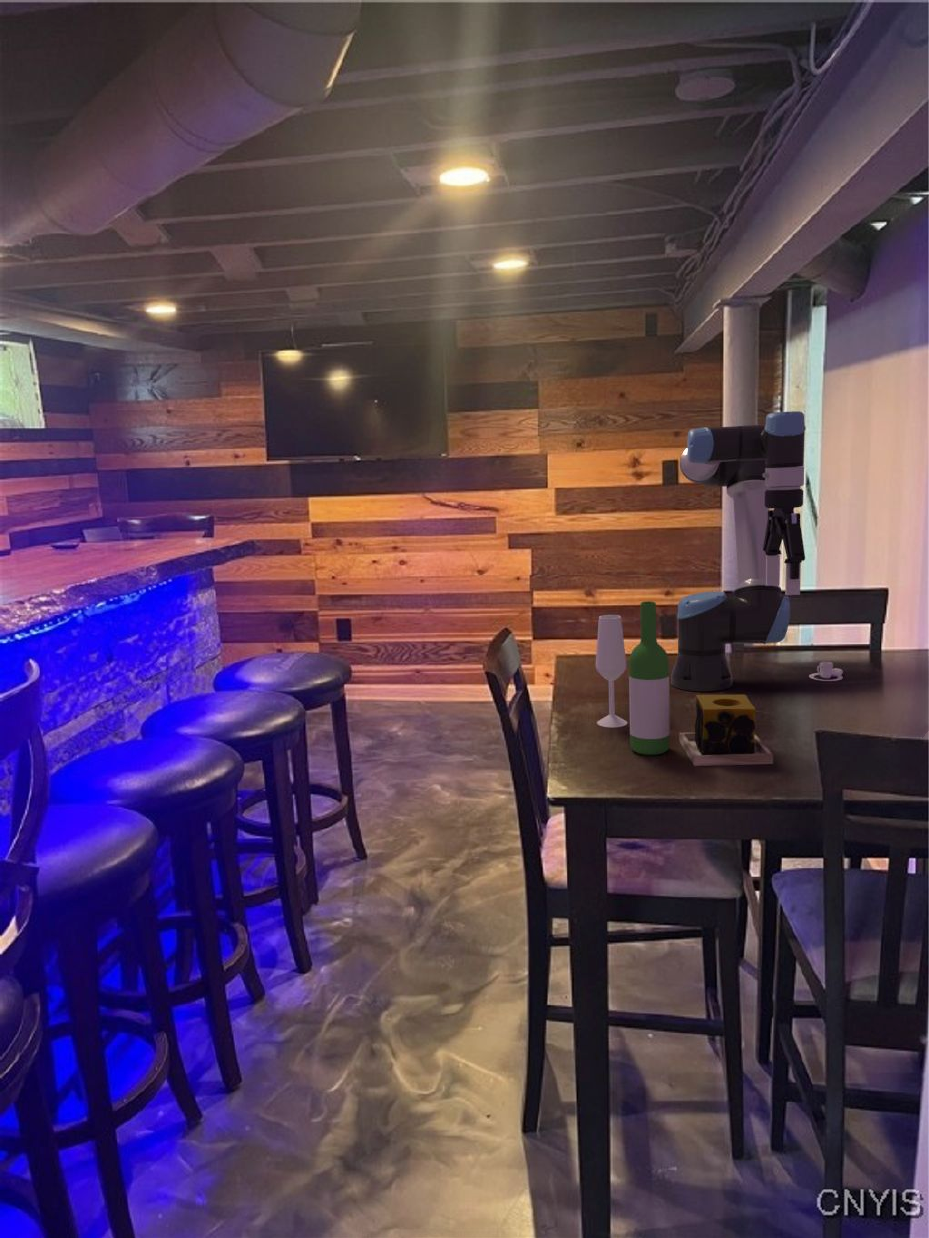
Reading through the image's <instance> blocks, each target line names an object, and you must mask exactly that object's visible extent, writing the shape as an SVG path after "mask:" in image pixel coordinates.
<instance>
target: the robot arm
mask: <svg viewBox="0 0 929 1238" xmlns="http://www.w3.org/2000/svg"><path fill="white" fill-rule="evenodd" d="M806 429H807V427H806V425H805V414H804V413H803V411H799V410H797V411H795V410H792V411H779V412H778V411H777V412H771V413H770V412H769V413H768V414H767V415H766V418H765V424H752V425H751V424H748V425H735V426H719V427H717V426H715V427H714V426H713V427H707V426H703V427H700V428H699V427H698V428H691V429H690V430H689V431H688V432H687V438H686V439H687V441H686V442H687V443H686V448H685V449H684V451H683V452H682V454H681V456H680V460H679V469H680V471H681V473H682V475H683V476H684V477H685V478H686V479H687V480H688V481H690V482H692V483H693V484H697V485H700V486H704V487H711V488H715V487H717V488H718V487H719V488H721V487H726V494H727V496H729V497H730V498H732V500H733V515H734V516H733V517H734V528H735V529H734V530H735V531H734V532H735V547H736V549H735V551H736V564H737V580H738V581H737V582H738V583H737V586H736V587H735V588H734V589H733V590H732V597H727V595H726V592H724V591H720V590H717V591H712V590H711V591H702V592H698V593H692V594H689V595H686V596H684V597H682V598H681V599H680V600H679V602H678V603H677V615H676V619H677V656H676V659H675V663H674V666H673V668H672V671H671V675H670V683H671V686H673V687H674V688H676V689H680V690H683V691H690V692H716V691H723V690H727V689H730V688H732V686H733V685H734V684H733V681H734V680H733V674H732V670H731V667H730V664H729V662H728V658H727V655H726V645H730V644H731V645H732V644H734V645H735V644H736V645H738V644H741V645H742V644H745V645H746V644H747V645H748V644H749V645H750V644H762V645H766V644H776V643H780V642H782V641H783V640H784V639H785V638H786V636H787V633H788V629H789V623H790V617H791V615H790V614H791V602H790V597H789V596H796V595H797V596H800V595H801V571H802V570H801V569H802V568H801V563H802V562H804V561H805V560H806V555H805V548H804V546H805V545H804V541H803V539H804V538H803V533H802V526H801V512H796V513H795V508H802V507H803V506H804V490H803V488H801V487H803V486H804V485H805V466H804V465H805V437H806V436H805V434H806ZM770 509H771V510H770ZM782 542H783V545H784V546H783V547H784V550H785V555H786V558H785V559H784V564H785V579H784V580H785V589H784V590H785V591H784V592H785V593H784V594H785V595H783V594H782V588H781V587H780V570H781V566H780V565H781V562H780V560H781V559H780V558H781V555H782V551H781V546H782Z"/></svg>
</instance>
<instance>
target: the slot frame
mask: <svg viewBox="0 0 929 1238" xmlns="http://www.w3.org/2000/svg"><path fill="white" fill-rule="evenodd" d="M678 737H679V743H680V744H681V746H682V748H683V750H684V752H686V755H687V756H688V757H689V760H690V761H691V763H692V765H693V766H694V767H701V766H703V767H704V766H705V767H708V766H710V767H711V766H737V765H739V766H740V765H742V766H745V765H747V766H749V765H773V764H774V754H773V753H772V751H771V750H769V748H768V747H767V746H766V744H764V742H762V740H761V739H760V738H759V736H757V735H756V734H755V735H754V743H755V754H727V755H701V753H700V752H699V750H698V748H697V746H696V742H695V731H693V732H692V731H691V732H689V731H688V732H679V736H678Z"/></svg>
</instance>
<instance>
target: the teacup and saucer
mask: <svg viewBox="0 0 929 1238" xmlns="http://www.w3.org/2000/svg"><path fill="white" fill-rule="evenodd" d="M833 667H834V663H833V662H831V661H821V662H819V665H817V667H816V671H817V672H815V673H811V674H809V675H808V677H809V678H810V679H813V680H816V681H822V682H833V681H834V682H837V681H840V680H843V676H842V675H843V672H844V671H843V669H841V668H837V667H835V668H833ZM817 675H818V676H819V677H821V678H822V679H820V678H816V677H815V676H817ZM831 677H837V678H834V679H831Z"/></svg>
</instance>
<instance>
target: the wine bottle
mask: <svg viewBox="0 0 929 1238" xmlns="http://www.w3.org/2000/svg"><path fill="white" fill-rule="evenodd" d="M656 604H657V603H656V602H655V601H642V602H640V643H639V644H637V645H636V646H635V647H634V648H633V649H632V651H631V653H630V655H629V660H628V669H629V670H628V671H629V672H628V673H629V674H628V676H629V677H628V685H629V686H628V687H629V689H628V691H629V692H628V693H629V694H628V695H629V697H628V698H629V699H628V700H629V743H630V748H631V750H632V751H634V752H635V753H637V754H640V755H645V756H646V755H647V756H656V755H657V756H658V755H661V754H664V753H666V752H667V751H668V750H669V749H670V733H671V731H670V661H669V660H670V659H669V656H668V653H667V651H666V650H665V649H664V647H663V646H662V645H660V644H659V643H658V642H657V640H658V639H657V605H656Z"/></svg>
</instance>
